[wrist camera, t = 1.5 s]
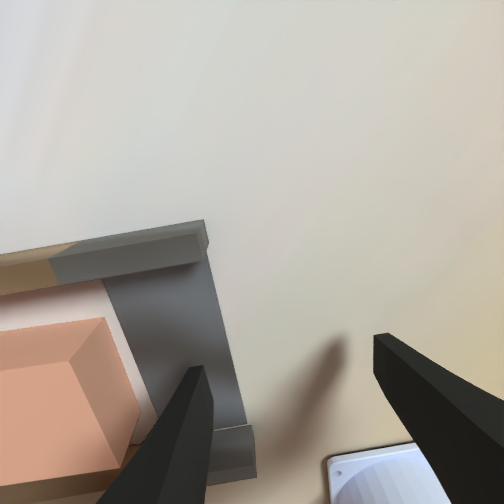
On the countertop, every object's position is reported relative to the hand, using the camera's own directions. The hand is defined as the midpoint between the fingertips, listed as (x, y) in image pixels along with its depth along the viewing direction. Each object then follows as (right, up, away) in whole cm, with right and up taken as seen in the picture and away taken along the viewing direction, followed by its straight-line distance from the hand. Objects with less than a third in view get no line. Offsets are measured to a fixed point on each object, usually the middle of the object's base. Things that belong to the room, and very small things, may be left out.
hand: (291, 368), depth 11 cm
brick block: (-11, -1, +2) cm, 12 cm away
